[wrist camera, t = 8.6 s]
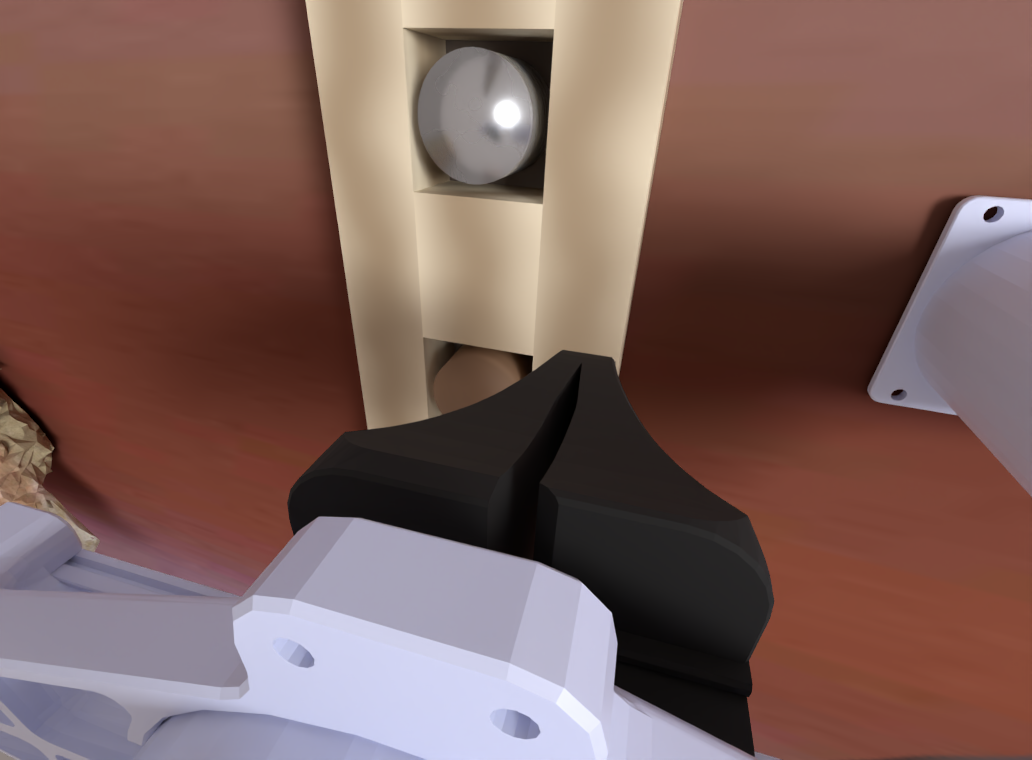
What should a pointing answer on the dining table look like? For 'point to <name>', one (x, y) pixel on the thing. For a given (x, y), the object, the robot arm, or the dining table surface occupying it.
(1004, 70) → the dining table surface
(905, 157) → the dining table surface
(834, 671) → the dining table surface
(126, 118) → the dining table surface
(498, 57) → the grey peg
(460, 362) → the walnut peg
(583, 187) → the board
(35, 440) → the fish sculpture
